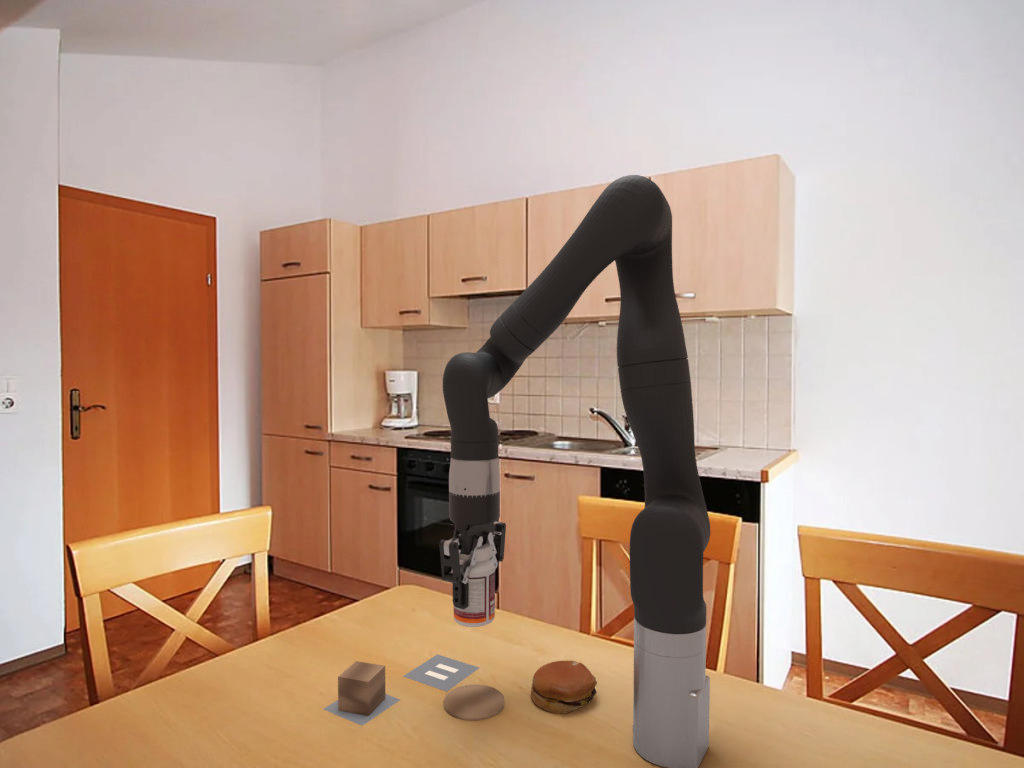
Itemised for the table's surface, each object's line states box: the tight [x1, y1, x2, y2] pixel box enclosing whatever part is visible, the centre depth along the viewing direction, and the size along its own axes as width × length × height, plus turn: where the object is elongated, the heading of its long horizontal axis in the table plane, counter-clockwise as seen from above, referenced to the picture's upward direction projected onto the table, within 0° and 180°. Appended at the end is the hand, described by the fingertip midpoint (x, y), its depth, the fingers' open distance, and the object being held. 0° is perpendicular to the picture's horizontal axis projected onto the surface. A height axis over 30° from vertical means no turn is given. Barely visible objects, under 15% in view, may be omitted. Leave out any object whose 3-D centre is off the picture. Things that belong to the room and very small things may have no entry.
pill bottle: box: [453, 544, 496, 628], centre depth 93 cm, size 6×6×11 cm
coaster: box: [443, 683, 505, 722], centre depth 94 cm, size 9×9×1 cm
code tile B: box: [323, 693, 401, 726], centre depth 94 cm, size 8×8×1 cm
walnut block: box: [337, 660, 386, 716], centre depth 94 cm, size 5×5×5 cm
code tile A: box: [402, 653, 480, 693], centre depth 104 cm, size 9×9×1 cm
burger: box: [530, 660, 598, 714], centre depth 96 cm, size 10×9×5 cm
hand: (474, 599), depth 94 cm, fingers closed on pill bottle, 6 cm apart
